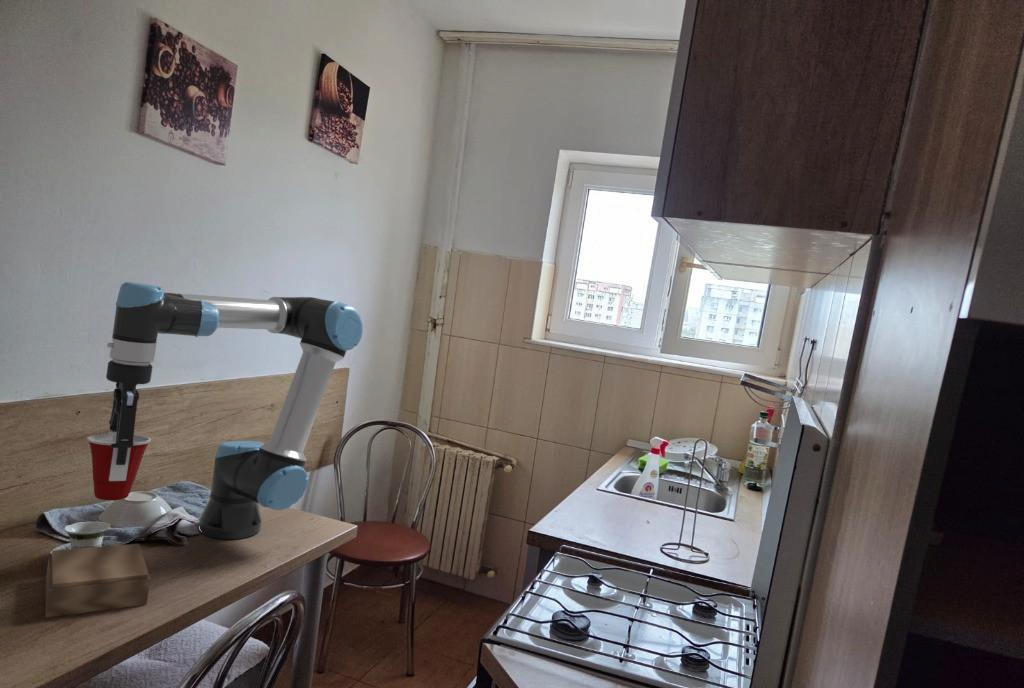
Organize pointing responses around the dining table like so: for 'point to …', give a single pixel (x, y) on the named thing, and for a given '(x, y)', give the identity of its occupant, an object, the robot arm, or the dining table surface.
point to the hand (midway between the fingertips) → (114, 471)
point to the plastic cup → (102, 465)
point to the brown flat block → (95, 579)
